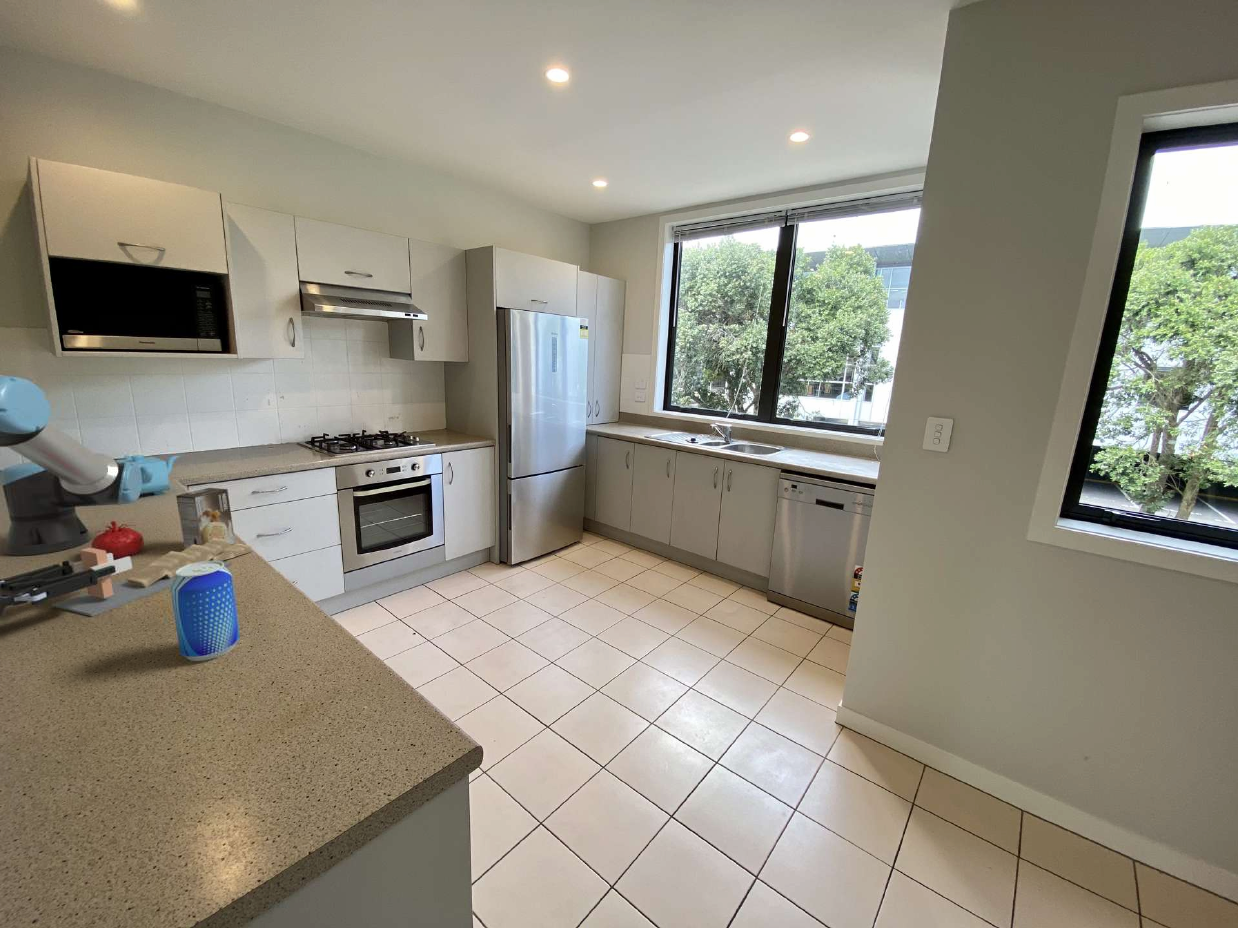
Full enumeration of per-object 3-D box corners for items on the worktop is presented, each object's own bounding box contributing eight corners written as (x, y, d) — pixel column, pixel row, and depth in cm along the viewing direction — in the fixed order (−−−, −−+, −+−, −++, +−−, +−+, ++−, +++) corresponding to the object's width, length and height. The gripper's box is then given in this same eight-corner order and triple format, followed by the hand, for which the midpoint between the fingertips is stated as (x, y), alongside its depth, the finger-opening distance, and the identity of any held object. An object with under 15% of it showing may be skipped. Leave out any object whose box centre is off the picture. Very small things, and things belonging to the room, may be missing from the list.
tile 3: (166, 573, 116) (207, 546, 124) (151, 570, 117) (193, 544, 126) (170, 579, 117) (210, 551, 125) (155, 575, 118) (196, 549, 126)
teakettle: (155, 500, 179) (149, 460, 176) (92, 501, 174) (85, 460, 172) (187, 487, 197) (182, 450, 194) (130, 488, 193) (124, 450, 190)
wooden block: (212, 557, 126) (251, 545, 135) (198, 554, 127) (237, 543, 136) (213, 563, 126) (252, 551, 135) (198, 560, 127) (238, 549, 137)
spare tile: (104, 597, 105) (96, 553, 103) (88, 594, 106) (79, 550, 104) (113, 594, 107) (105, 550, 105) (97, 591, 108) (89, 547, 106)
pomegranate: (113, 565, 125) (106, 530, 123) (82, 560, 127) (75, 525, 125) (156, 550, 135) (151, 517, 132) (127, 545, 136) (121, 513, 134)
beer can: (192, 669, 85) (178, 582, 82) (173, 653, 89) (160, 569, 86) (248, 647, 92) (238, 565, 89) (228, 633, 96) (218, 555, 93)
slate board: (52, 606, 104) (52, 604, 104) (197, 558, 130) (196, 556, 130) (91, 616, 100) (91, 614, 100) (231, 564, 127) (231, 562, 127)
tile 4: (189, 566, 121) (227, 540, 129) (174, 563, 122) (213, 538, 130) (193, 570, 121) (230, 545, 130) (178, 568, 123) (216, 542, 131)
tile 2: (142, 582, 111) (186, 553, 120) (126, 579, 113) (171, 551, 121) (145, 587, 112) (189, 558, 120) (130, 584, 113) (174, 556, 122)
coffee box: (217, 541, 142) (210, 486, 139) (236, 543, 141) (229, 488, 138) (183, 552, 133) (175, 494, 130) (203, 555, 132) (195, 497, 129)
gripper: (-67, 619, 90) (96, 570, 112) (-4, 637, 86) (152, 582, 108) (-77, 581, 89) (90, 539, 111) (-14, 597, 84) (147, 549, 106)
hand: (120, 560), depth 109 cm, fingers closed on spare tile, 5 cm apart
